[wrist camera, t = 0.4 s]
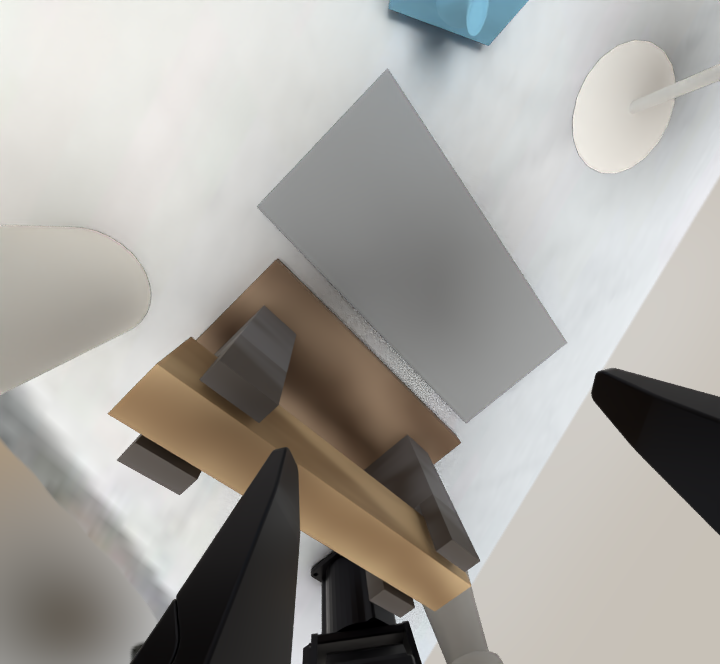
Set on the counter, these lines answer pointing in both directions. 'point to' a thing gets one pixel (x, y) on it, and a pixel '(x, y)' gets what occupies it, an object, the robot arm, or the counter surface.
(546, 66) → the counter surface
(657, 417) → the robot arm
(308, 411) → the rail stand
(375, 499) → the oak rail
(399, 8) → the light blue knobbed box
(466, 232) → the grey mat
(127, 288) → the cylindrical container
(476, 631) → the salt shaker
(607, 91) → the wineglass
